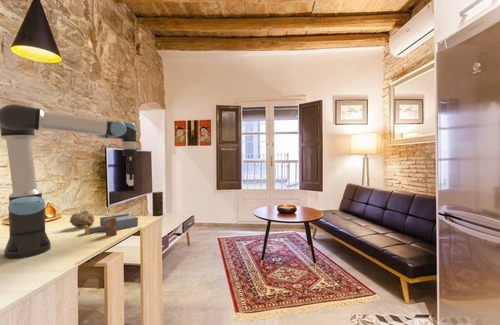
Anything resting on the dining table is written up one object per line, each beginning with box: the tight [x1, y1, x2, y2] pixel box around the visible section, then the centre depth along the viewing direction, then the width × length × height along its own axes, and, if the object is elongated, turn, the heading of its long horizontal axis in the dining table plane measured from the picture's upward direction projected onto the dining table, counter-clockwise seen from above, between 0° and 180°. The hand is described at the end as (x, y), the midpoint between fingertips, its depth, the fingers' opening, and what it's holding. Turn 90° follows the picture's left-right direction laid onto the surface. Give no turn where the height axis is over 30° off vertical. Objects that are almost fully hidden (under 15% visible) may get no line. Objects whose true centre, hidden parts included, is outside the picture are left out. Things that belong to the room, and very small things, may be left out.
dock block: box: [99, 213, 139, 231], centre depth 151 cm, size 16×17×5 cm
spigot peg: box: [105, 217, 118, 237], centre depth 132 cm, size 4×4×9 cm
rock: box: [69, 209, 95, 228], centre depth 150 cm, size 12×10×10 cm
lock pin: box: [84, 225, 106, 235], centre depth 140 cm, size 14×4×4 cm, turn 134°
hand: (130, 184), depth 149 cm, fingers open, 13 cm apart
